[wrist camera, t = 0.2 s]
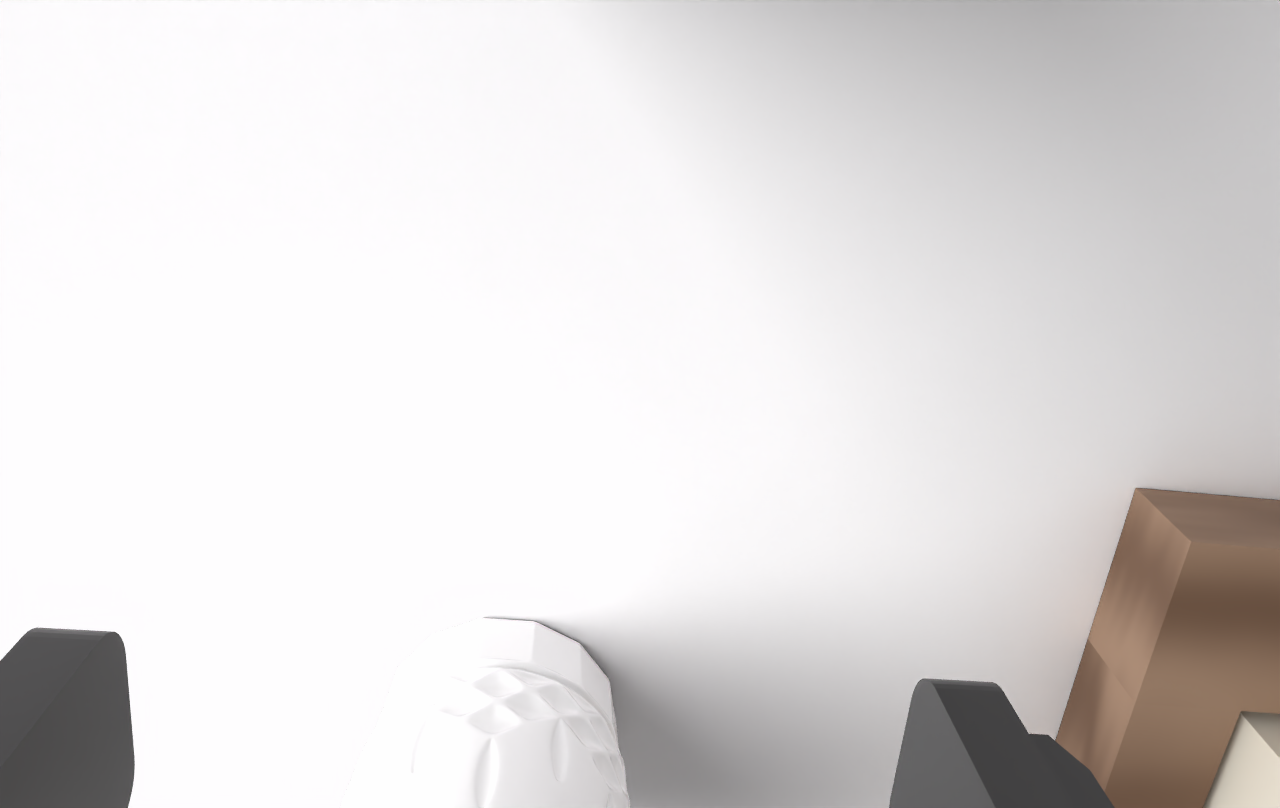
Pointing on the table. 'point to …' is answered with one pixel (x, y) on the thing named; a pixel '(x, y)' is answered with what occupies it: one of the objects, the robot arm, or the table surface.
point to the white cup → (494, 726)
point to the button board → (1178, 646)
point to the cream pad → (1249, 765)
